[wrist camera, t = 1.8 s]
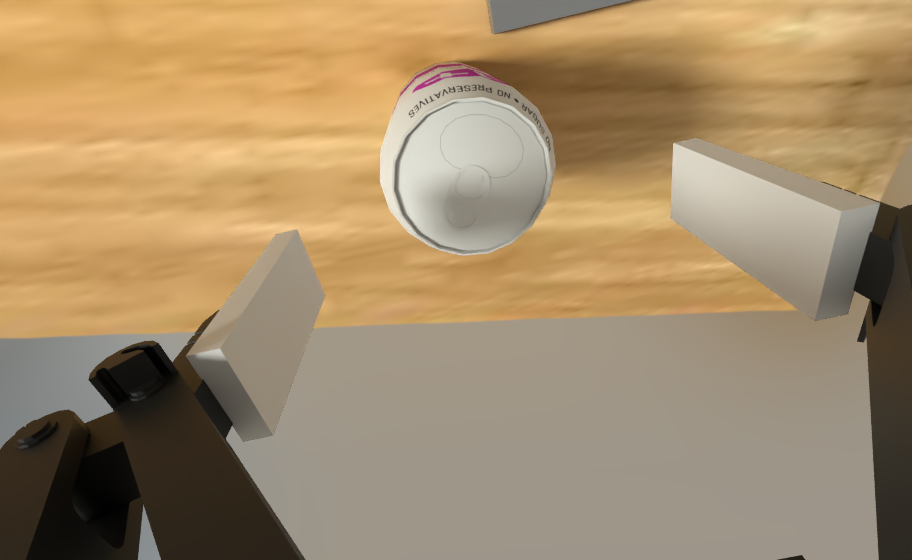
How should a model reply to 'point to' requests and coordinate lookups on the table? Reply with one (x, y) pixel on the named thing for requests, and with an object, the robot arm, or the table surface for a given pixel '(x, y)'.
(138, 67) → the table surface
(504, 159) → the supplement can
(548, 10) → the slate board
